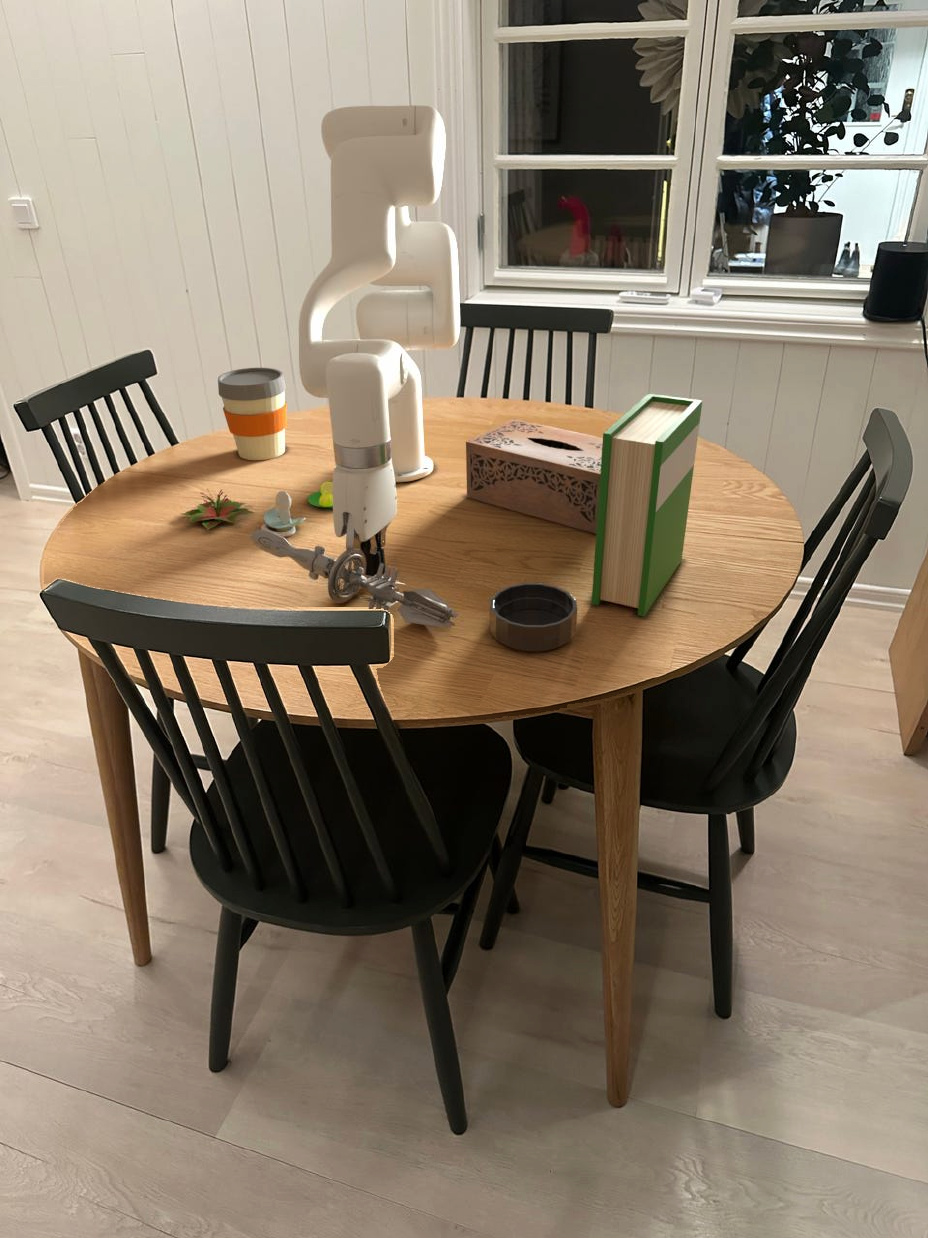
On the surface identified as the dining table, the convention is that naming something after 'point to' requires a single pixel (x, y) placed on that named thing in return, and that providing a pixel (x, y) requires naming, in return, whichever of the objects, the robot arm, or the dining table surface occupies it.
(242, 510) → the lily flower
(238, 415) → the reusable coffee cup
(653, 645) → the dining table surface
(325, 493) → the green plate with lemon
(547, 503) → the tissue box cover
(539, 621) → the ashtray
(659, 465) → the hardback book
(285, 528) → the pacifier
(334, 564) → the spaceship
